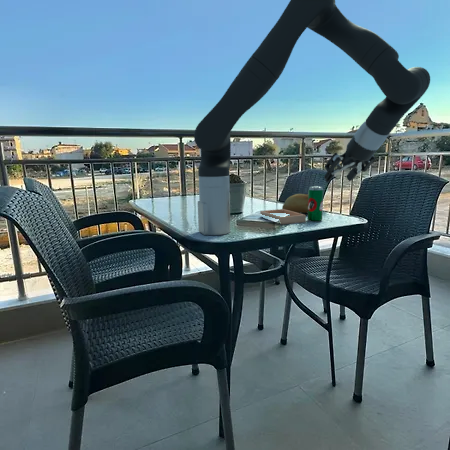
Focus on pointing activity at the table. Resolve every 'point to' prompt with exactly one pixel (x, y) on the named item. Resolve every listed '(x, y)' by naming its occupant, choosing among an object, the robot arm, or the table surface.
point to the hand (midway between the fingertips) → (337, 179)
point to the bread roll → (297, 203)
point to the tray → (290, 219)
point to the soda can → (315, 203)
